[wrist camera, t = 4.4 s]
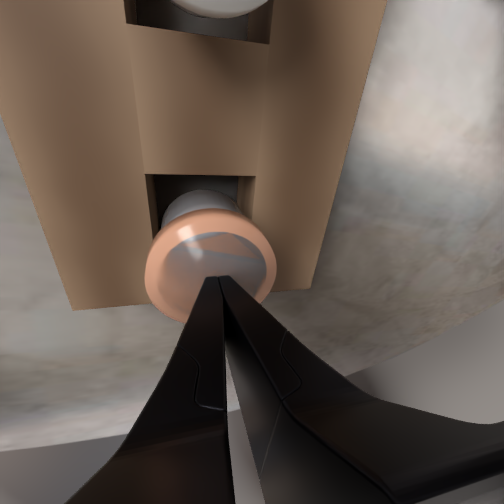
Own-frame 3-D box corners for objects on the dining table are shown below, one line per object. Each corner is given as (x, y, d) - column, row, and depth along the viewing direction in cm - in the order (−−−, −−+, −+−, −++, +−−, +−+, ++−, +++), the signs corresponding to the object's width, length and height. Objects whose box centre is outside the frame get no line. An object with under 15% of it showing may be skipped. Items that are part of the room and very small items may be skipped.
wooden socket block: (373, -171, 10) (462, -281, 7) (289, 255, 21) (310, 288, 18) (-84, -351, 7) (-305, -717, 4) (91, 267, 18) (72, 310, 14)
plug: (256, 181, 12) (285, 219, 9) (248, 265, 15) (268, 318, 12) (146, 179, 11) (135, 222, 8) (157, 271, 14) (152, 331, 11)
